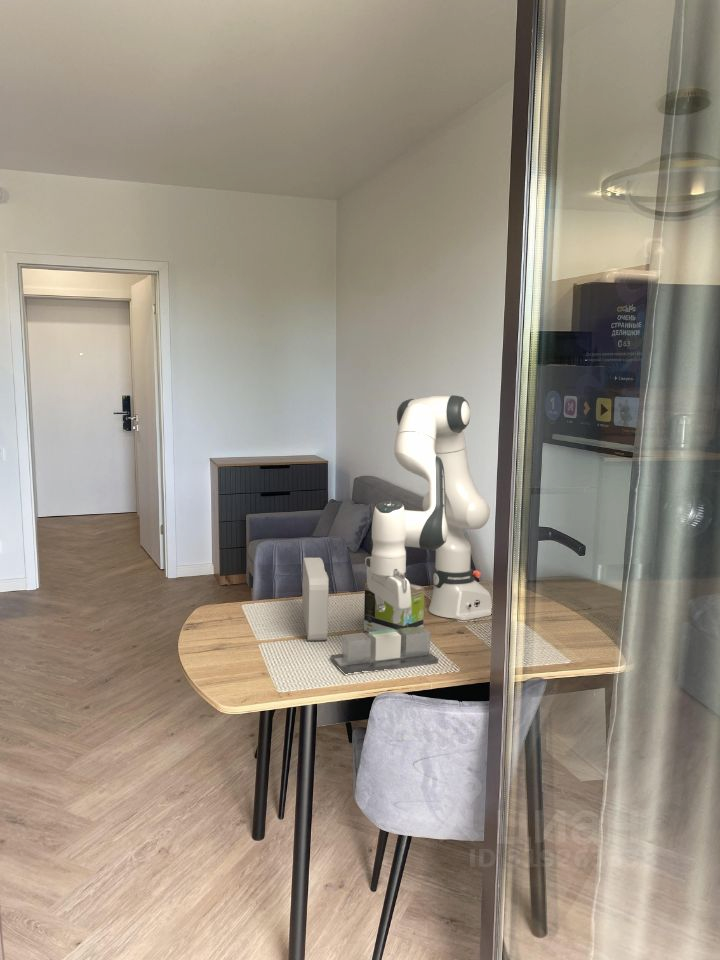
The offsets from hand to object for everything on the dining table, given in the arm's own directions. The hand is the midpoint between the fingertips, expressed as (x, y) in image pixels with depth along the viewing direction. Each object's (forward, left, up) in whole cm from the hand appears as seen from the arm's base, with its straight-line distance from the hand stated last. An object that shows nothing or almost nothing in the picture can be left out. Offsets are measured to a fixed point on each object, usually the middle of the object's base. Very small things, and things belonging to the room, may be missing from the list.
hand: (388, 616), depth 191 cm
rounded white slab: (+10, -32, -12) cm, 36 cm away
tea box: (-10, -19, -12) cm, 25 cm away
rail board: (+1, 0, -12) cm, 12 cm away
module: (+1, 0, -11) cm, 11 cm away
